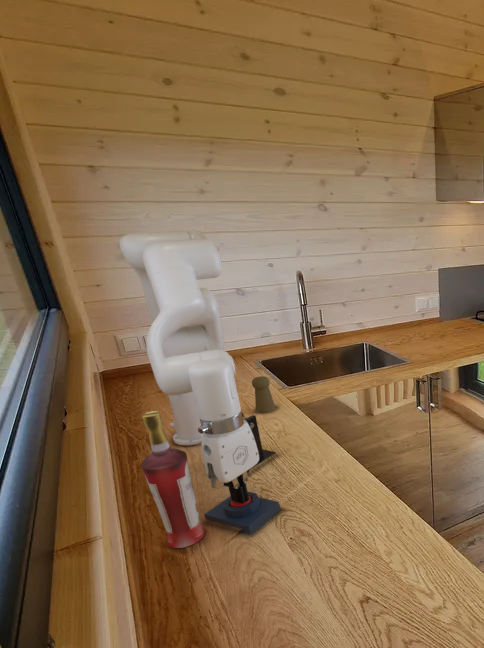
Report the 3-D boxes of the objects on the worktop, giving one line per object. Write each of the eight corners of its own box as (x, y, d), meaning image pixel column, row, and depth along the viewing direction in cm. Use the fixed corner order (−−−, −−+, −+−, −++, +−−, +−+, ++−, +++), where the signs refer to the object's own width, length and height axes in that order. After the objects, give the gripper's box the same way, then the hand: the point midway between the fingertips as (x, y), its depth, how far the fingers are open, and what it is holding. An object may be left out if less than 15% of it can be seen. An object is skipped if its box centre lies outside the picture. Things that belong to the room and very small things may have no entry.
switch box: (206, 522, 103) (202, 507, 102) (238, 499, 111) (235, 484, 109) (250, 535, 99) (247, 518, 97) (281, 510, 107) (278, 495, 105)
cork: (269, 413, 155) (262, 381, 151) (252, 412, 156) (245, 380, 152) (279, 406, 161) (273, 374, 156) (262, 405, 162) (256, 373, 158)
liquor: (169, 535, 99) (130, 410, 88) (209, 526, 102) (176, 403, 91) (165, 558, 93) (122, 426, 82) (207, 547, 96) (171, 418, 85)
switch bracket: (248, 474, 121) (238, 428, 116) (224, 469, 124) (213, 423, 119) (276, 455, 130) (268, 412, 125) (252, 451, 132) (243, 408, 127)
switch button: (227, 510, 103) (225, 503, 102) (241, 500, 106) (240, 493, 106) (242, 514, 102) (240, 507, 101) (256, 503, 105) (254, 496, 104)
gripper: (206, 441, 88) (226, 524, 95) (264, 410, 101) (279, 485, 108) (175, 435, 91) (198, 517, 98) (236, 405, 104) (252, 479, 111)
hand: (240, 500), depth 103 cm, fingers closed
